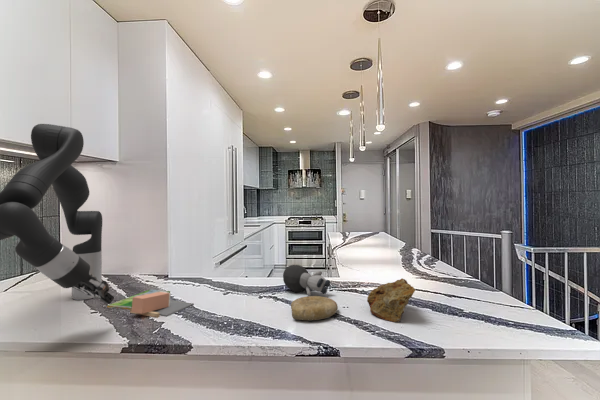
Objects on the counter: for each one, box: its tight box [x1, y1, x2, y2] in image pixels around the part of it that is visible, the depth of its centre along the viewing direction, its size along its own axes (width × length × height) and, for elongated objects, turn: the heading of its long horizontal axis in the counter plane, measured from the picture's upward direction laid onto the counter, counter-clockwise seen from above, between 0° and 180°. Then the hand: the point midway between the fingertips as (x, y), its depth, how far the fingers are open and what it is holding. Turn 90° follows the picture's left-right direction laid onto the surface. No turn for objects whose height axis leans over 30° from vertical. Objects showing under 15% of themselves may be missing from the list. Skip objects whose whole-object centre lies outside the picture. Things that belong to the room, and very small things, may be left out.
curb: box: [129, 309, 161, 319], centre depth 97 cm, size 12×1×1 cm, turn 67°
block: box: [132, 292, 171, 315], centre depth 100 cm, size 4×4×11 cm
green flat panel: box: [106, 289, 171, 311], centre depth 113 cm, size 20×1×10 cm
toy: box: [282, 264, 331, 296], centre depth 120 cm, size 11×12×20 cm
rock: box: [366, 278, 416, 323], centre depth 97 cm, size 20×15×10 cm
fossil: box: [290, 295, 339, 321], centre depth 97 cm, size 17×15×5 cm
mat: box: [152, 299, 195, 318], centre depth 104 cm, size 16×12×1 cm
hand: (110, 300), depth 87 cm, fingers closed
